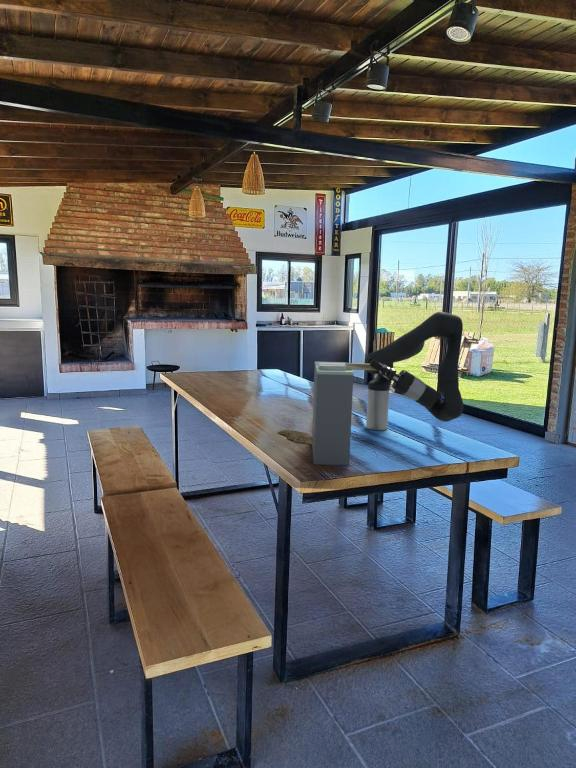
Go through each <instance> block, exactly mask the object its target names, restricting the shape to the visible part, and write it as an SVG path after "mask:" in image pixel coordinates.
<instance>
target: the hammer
mask: <svg viewBox="0 0 576 768" xmlns="http://www.w3.org/2000/svg"><path fill="white" fill-rule="evenodd" d="M319 370H339V371H346V370H352V371H353V370H354V371H367V370H376V369H374V368H373V367H371V366H370V364H365V362H363V363H359V362H347V363H319Z"/></svg>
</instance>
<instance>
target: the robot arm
mask: <svg viewBox="0 0 576 768" xmlns="http://www.w3.org/2000/svg"><path fill="white" fill-rule="evenodd" d="M463 327H464V325H463V320H462V318H461V317H460V316H458V315H456V314H452V313H449V312H446V311H445V312H444V311H437V312H435V313H433V314H432V315H430V316H429V317H428V318H426V319H425V320H424V321H423V322H421V323H420V324H419V325H417V326H416V327H414V328H413V329H411V330H409V331H408V332H406V333H405V334H403V335H401V336H399V337H398V338H396V339H395V340H393V341H391V342H390V343H388V344H387V345H385V346H384V347H382V348H380V349H378V350H375V351H371V352H370V353H369V354H368V355H367V356H366V358H365V360H364V363H365V364H370V366H371V367H373V368H374V369H376V370H366V372H368V373H369V374H373V375H376V377H375V378H374V379H372V380H370V381H369V382H368V385H367V401H366V421H365V423H366V424H365V427H366V429H368V430H373V431H385V430H387V429H388V425H389V424H388V421H389V405H390V388H391V387H392V389H393V390H394V391H396V392H398V393H399V394H401V395H403V396H404V397H406V398H408V399H410V400H412V401H414V402H416V403H418V405H420V406H422V407H424V408H425V409H426V410H427V411H428V412H429V413H430V414H431V415H432V416H433V417H434V418H435V419H437V420H439V421H440V422H445V423H446V422H447V423H449V422H450V421H454V420H455V419H457V418H459V417H461V416H462V414H463V411H464V402H463V398H462V393H461V391H460V388H459V386H460V385H459V379H460V378H459V362H460V361H459V359H460V352H461V346H462V339H463V331H464V329H463ZM431 338H441V339H445V340H446V352H445V354H444V356H443V358H442V360H441V362H440V364H439V366H438V370H437V390H438V391H437V390H436V389H435V388H433V387H432V386H430V385H428V384H427V383H426V382H424V381H423V380H422V379H420V378H418V377H417V376H415V375H414V374H412V373H411V372H409V371H407V370H406V369H402V370H401V371H399V373H397V370H396V369H394V363H398V362H402V361H405V360H409V359H410V358H413V357H414V356H416V355H418V354H420V353H421V351H423V349H424V347H425V343H426V341H427V340H429V339H431ZM392 381H393V382H392ZM439 393H440V394H442V395H443V399H444V400H442V399H441V398H439V397H440V395H439Z"/></svg>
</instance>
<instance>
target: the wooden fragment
mask: <svg viewBox="0 0 576 768" xmlns="http://www.w3.org/2000/svg"><path fill="white" fill-rule="evenodd" d="M277 434H280V435H283V436H284V437H286V438H287V439H288V440H290V441H293V442H294V443H296V444H303V445H305V444H306V445H310V446H312V436H311V435H310V434H309V433H307V432H302V431H297V430H293V429H288V428H285V429H282V430H278V432H277Z"/></svg>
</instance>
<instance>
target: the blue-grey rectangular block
mask: <svg viewBox="0 0 576 768" xmlns="http://www.w3.org/2000/svg"><path fill="white" fill-rule="evenodd" d="M319 363H348V362H345V361H314V369H313V370H314V374H313V375H314V376H313V377H314V378H313V403H312V433H311V435H312V436H311V437H312V445H311V446H312V447H311V448H312V456H313V459H312V460H313V465H329V466H330V465H331V466H332V465H333V466H335V465H336V466H350V458H351V456H350V455H351V454H350V453H351V437H352V435H351V433H352V432H351V431H352V412H353V411H352V410H353V409H352V408H353V394H354V393H353V390H354V389H353V388H354V371H353V370H346V371H339V370H319Z"/></svg>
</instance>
